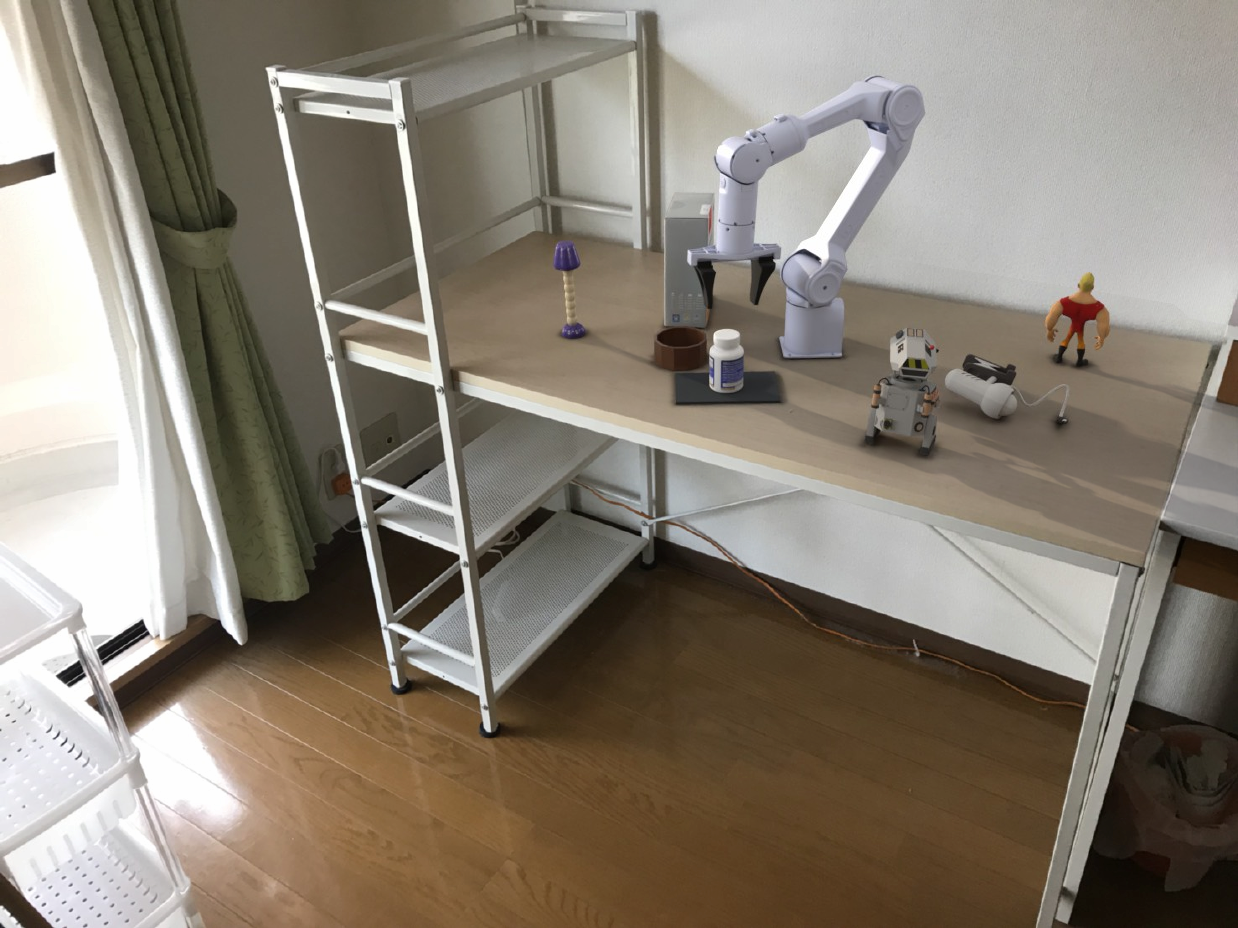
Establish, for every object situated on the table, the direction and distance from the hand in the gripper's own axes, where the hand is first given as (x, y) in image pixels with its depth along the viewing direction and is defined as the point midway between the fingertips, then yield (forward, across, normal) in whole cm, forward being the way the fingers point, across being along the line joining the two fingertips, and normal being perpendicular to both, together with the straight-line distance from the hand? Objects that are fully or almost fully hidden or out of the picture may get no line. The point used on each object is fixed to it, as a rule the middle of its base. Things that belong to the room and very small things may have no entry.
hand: (731, 304), depth 157 cm
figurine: (+10, -16, +30) cm, 35 cm away
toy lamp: (+12, +22, -20) cm, 32 cm away
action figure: (+8, -52, +16) cm, 55 cm away
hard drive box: (+10, 0, -23) cm, 26 cm away
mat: (+11, +3, +8) cm, 14 cm away
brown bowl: (+11, +7, -4) cm, 13 cm away
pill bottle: (+10, +3, +8) cm, 13 cm away
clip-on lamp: (+9, -35, +26) cm, 45 cm away
